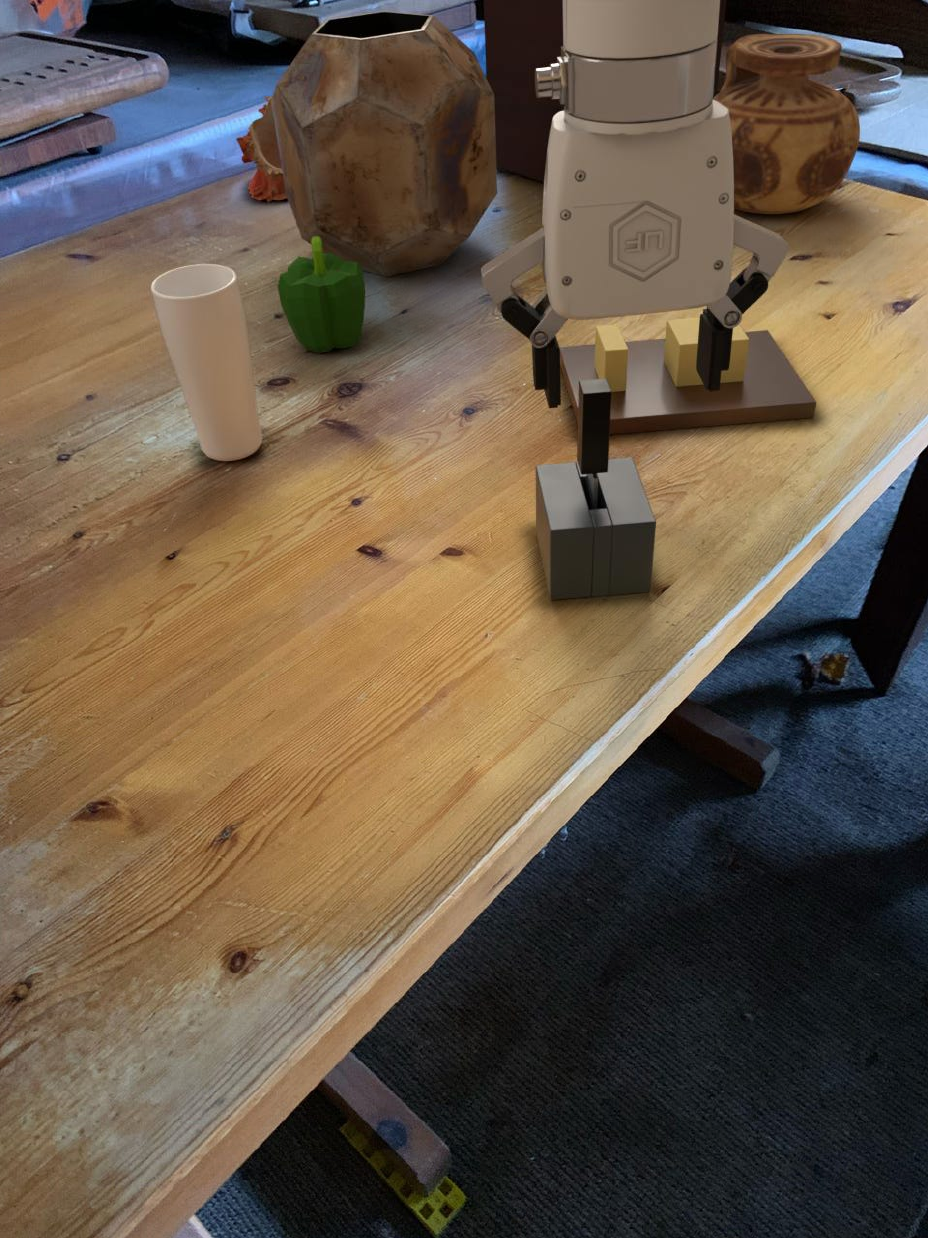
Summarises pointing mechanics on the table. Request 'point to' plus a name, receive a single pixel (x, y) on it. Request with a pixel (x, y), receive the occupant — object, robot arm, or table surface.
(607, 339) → the butter slice
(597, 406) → the knife
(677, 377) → the butter
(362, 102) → the planter
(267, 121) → the seashell
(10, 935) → the table surface
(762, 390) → the board
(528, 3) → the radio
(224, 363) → the drinking glass
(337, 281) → the bell pepper
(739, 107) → the clay pot
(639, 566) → the knife block
